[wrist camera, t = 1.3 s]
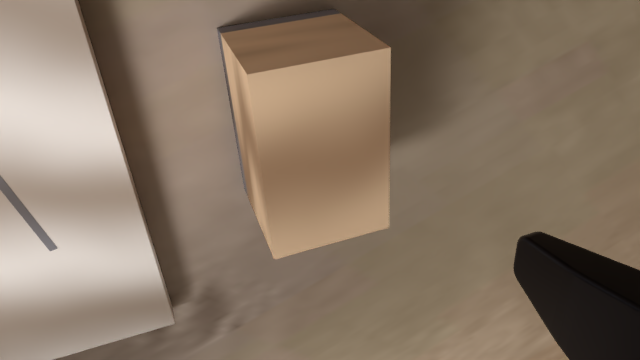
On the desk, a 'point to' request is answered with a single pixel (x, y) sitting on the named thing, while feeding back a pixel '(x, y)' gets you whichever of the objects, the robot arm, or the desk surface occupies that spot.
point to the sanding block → (311, 126)
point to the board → (66, 197)
